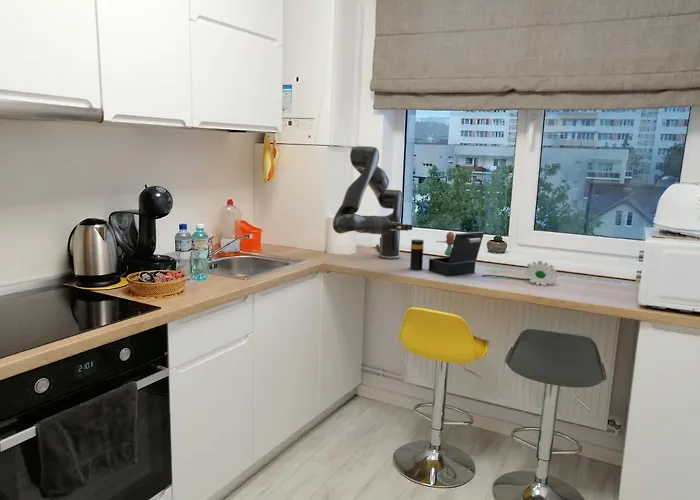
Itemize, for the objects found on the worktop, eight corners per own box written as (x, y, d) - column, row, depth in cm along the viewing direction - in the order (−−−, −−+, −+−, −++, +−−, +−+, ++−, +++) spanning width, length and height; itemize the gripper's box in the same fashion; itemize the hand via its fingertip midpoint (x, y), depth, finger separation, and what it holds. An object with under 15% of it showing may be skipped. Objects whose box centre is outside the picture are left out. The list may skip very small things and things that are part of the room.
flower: (483, 260, 232) (557, 259, 221) (484, 269, 236) (557, 268, 225) (480, 282, 223) (558, 282, 212) (482, 291, 226) (558, 291, 216)
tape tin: (407, 268, 241) (408, 239, 238) (417, 267, 244) (418, 239, 241) (415, 270, 236) (416, 241, 234) (424, 269, 239) (426, 241, 237)
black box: (428, 270, 238) (429, 258, 237) (454, 267, 246) (455, 256, 245) (447, 276, 227) (448, 264, 226) (474, 273, 235) (475, 261, 234)
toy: (462, 262, 257) (464, 231, 254) (463, 264, 252) (465, 233, 250) (434, 261, 258) (436, 230, 255) (434, 263, 254) (436, 231, 251)
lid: (455, 233, 221) (462, 237, 218) (482, 231, 229) (490, 235, 226) (448, 262, 226) (454, 267, 223) (474, 259, 235) (481, 264, 231)
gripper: (389, 217, 215) (417, 219, 225) (366, 214, 226) (394, 216, 236) (387, 236, 216) (415, 236, 226) (364, 232, 227) (392, 233, 237)
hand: (404, 226), depth 231 cm, fingers open, 8 cm apart
